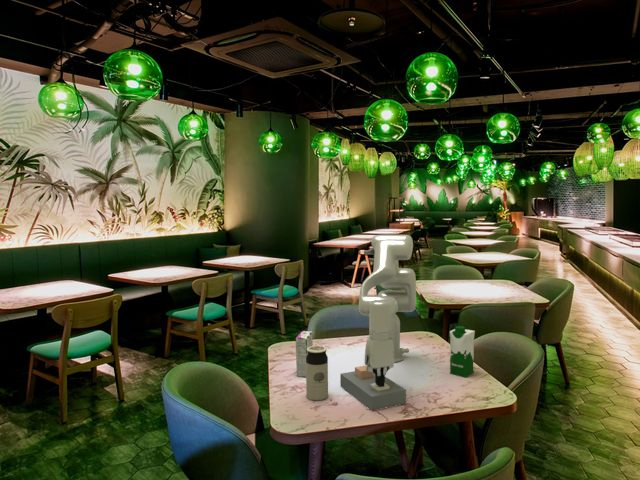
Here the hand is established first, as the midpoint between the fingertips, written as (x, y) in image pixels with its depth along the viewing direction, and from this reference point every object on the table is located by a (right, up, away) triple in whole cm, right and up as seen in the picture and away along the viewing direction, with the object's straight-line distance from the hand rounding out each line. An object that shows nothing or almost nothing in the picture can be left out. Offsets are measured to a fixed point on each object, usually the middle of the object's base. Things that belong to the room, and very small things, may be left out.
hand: (380, 385), depth 161 cm
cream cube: (0, -5, +1) cm, 5 cm away
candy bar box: (-28, -4, +30) cm, 41 cm away
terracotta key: (-5, -2, +11) cm, 12 cm away
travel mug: (-23, -6, +5) cm, 24 cm away
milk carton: (+38, -4, +27) cm, 46 cm away
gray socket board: (-2, -5, +6) cm, 8 cm away
